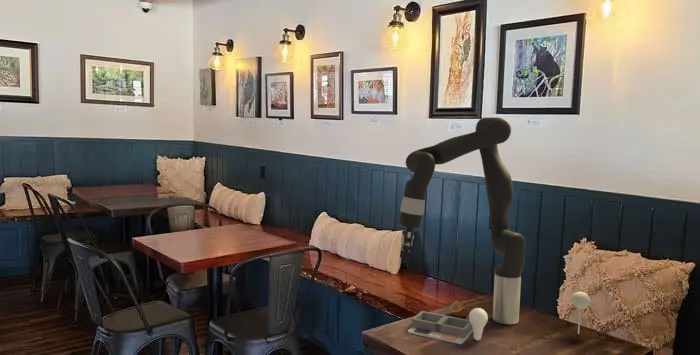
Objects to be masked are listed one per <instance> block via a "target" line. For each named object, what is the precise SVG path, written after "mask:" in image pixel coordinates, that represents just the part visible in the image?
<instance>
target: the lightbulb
mask: <svg viewBox="0 0 700 355" xmlns="http://www.w3.org/2000/svg"><path fill="white" fill-rule="evenodd" d="M488 316H489V315H488V313H487V311H485V309H483V308H481V307H475V308H473V309H471V311H470V312H469V314H468V318H469V319H468V320H470V323H471V324H472V327H473V332H472V333H473V340H475V341H477V342H478V341H480V340H482V335H483V332H484V328H485V326H486V325H487V323H488V320H489V317H488Z"/></svg>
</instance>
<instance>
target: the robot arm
mask: <svg viewBox="0 0 700 355" xmlns="http://www.w3.org/2000/svg"><path fill="white" fill-rule="evenodd" d="M511 133H512V126H511V124H510V122H509V121H508V120H507V119H505V118H503V117H482V118H480V119H479V120H478V121H477V122H476V125H475V131H473V132H469V133H467V134H466V133H465V134H462V135H458V136H454V137H451V138H448V139H446V140H444V141H441V142H439V143H436V144H434V145H431V146H427V147H423V148H420V149H416V150H415V151H412V152H411V153H409V154H408V155H407V157H406V159H405V166H406V168H407V170H409V171H410V172H411V173H413V175H412V178H411V179H409V180H407V181H406V183H405V187H404V193H403V198H402V200H401V204H400V211H399V217H398V222H397V223H398V225H400V226H403V230H402V231H401V237H400V246H401V247H400V254H399V258H400V263H403V264H407V263H408V261H409V254H410V252H411V249H412V246H413V241H414V239H415V238H414V237H415V232H413V231H414V229H420V228H421V226H422V222H423V217H424V211H425V203H426V202H425V200H426V195H427V188H428V186H429V184H430V182H431V180H432V177H433V175H434V173H435V169H436V165H444V164H447V163H449V162H451V161H454V160H455V159H458V158H461V157H462V156H465V155H467V154H470V153H472V152H475V151H478V150H479V154H480V159H481V164H482V170H483V175H484V181H485V182H484V183H485V190H486V197H487V203H488V209H489V216H490V235H491V236H490V238H491V239H490V241H491V245H492V248H493V250H494V252H496V253H497V254H499V255H501V256H503V263H500V264H497V265H495V268H494V282H493V283H494V284H493V285H494V287H493V306H492V320H493V321H494V322H496V323H499V324H504V325H515V324H518V323H519V320H520V319H519V318H520V304H521V302H520V301H521V287H522V286H521V285H522V283H521V282H522V271H523V269H524V266H525V257H526V247H527V245H526V244H527V243H526V239H525V237H524V236H523V235H522V234H520V233H519V232H515V231H511V230H510V227H509V226H510V225H509V221H508V219H509V218H508V216H509V211H510V208H511V206H512V203H513V200H514V194H515V193H514V186H513V180H512V176H511V173H510V171H509V170H508V168H507V167H506V164H504V162H503V160H502V158H501V156H500V153H499V148H498V145H499V144H503V143H505V142H506V141H507V140H509V138H510V136H511Z"/></svg>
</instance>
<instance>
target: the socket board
mask: <svg viewBox="0 0 700 355" xmlns="http://www.w3.org/2000/svg"><path fill="white" fill-rule="evenodd" d="M407 333H408V334H411V335H417V336H420V337H425V338H431V339H435V340H439V341H445V342H449V343H453V344H458V345H463V344H464V343H465V342H466V340H467V339H468V338H469V337H470V335H471V334H472V333H473V327H472V324H471V323H470V320H469V319H465V318H462V317H457V316H456V317H455V316H449V315H446V314H440V313H435V312H430V311H424V310H421V311H420V312H419V313H418V314H416V315H415V316H413V317H412V318H411V327H410V328H409V329H408V330H407Z"/></svg>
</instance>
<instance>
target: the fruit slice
mask: <svg viewBox="0 0 700 355" xmlns="http://www.w3.org/2000/svg"><path fill="white" fill-rule="evenodd" d="M449 311H450V313H451V314H452V315H453V316H456V317H457V318H463V317H466V316H469V314H470V312H469V311H468V310H467V309H466V308H465V307H464V306H463V305H462V304H461V302H459V300H458V299H457V300H455V301H454V302H452V304H451V305H450V306H449Z"/></svg>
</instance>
